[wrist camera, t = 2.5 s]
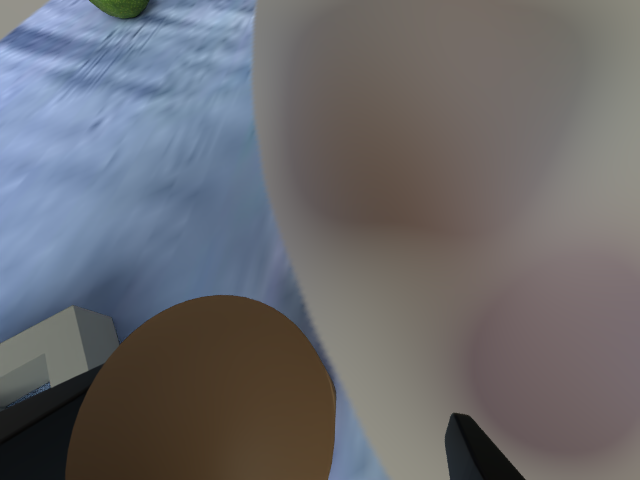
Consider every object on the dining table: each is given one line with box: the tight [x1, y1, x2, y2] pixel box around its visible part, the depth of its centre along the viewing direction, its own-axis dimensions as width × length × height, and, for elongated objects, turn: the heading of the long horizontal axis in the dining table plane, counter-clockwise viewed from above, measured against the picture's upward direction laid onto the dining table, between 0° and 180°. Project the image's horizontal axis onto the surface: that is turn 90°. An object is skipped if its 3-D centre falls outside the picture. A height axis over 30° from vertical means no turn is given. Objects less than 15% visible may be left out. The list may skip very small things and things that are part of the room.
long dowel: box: [65, 295, 336, 480], centre depth 10 cm, size 3×3×14 cm
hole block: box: [0, 305, 120, 411], centre depth 15 cm, size 8×8×3 cm
